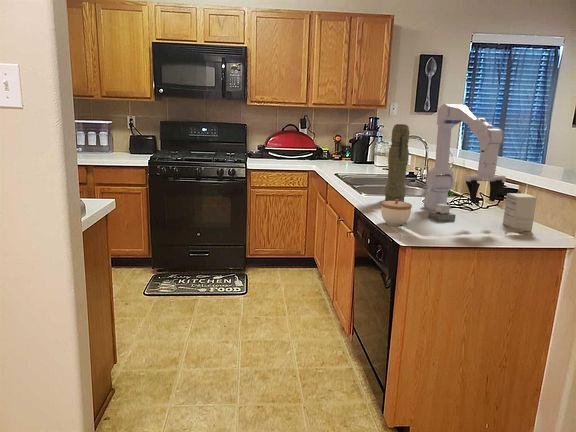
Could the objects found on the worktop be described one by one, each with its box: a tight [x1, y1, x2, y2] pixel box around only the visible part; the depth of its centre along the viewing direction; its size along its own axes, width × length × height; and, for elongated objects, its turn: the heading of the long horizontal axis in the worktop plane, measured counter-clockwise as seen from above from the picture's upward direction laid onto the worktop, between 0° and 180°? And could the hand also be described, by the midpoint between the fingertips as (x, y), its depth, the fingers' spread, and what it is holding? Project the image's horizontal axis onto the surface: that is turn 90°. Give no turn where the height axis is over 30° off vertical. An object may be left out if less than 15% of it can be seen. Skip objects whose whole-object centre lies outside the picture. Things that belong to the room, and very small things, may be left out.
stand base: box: [427, 210, 456, 223], centre depth 168 cm, size 16×18×4 cm
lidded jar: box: [380, 199, 413, 227], centre depth 161 cm, size 11×11×9 cm
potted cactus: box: [384, 123, 410, 202], centre depth 201 cm, size 9×12×35 cm
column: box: [434, 204, 451, 214], centre depth 168 cm, size 4×4×6 cm
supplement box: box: [502, 192, 538, 232], centre depth 161 cm, size 7×7×13 cm
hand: (482, 201), depth 159 cm, fingers open, 7 cm apart
